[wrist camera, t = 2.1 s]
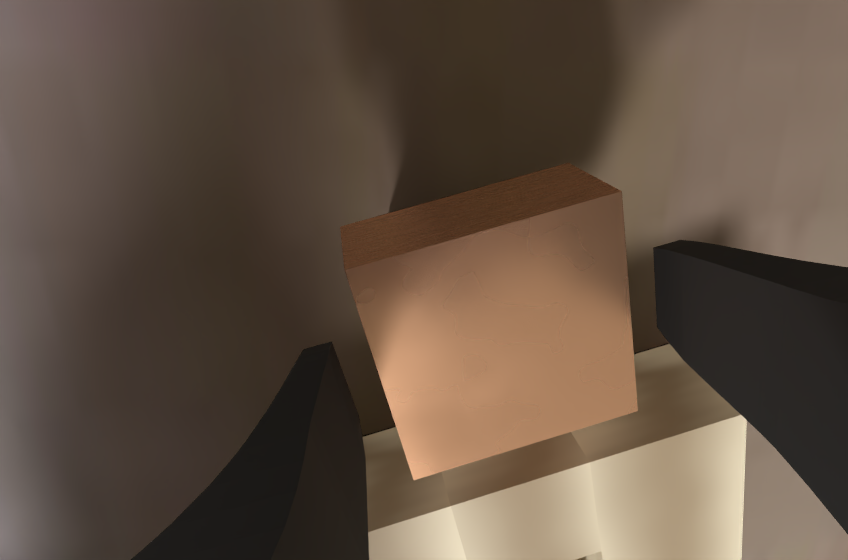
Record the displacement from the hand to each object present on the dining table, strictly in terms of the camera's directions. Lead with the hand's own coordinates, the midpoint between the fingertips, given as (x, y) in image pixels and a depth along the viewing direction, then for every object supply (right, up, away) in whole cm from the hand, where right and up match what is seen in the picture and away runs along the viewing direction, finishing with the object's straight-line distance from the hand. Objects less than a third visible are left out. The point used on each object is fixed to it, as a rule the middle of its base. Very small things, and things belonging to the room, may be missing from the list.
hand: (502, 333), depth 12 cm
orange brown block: (-1, +2, +5) cm, 6 cm away
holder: (+2, -8, +10) cm, 13 cm away
